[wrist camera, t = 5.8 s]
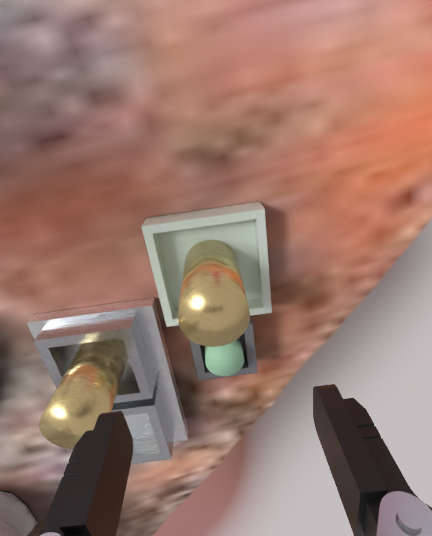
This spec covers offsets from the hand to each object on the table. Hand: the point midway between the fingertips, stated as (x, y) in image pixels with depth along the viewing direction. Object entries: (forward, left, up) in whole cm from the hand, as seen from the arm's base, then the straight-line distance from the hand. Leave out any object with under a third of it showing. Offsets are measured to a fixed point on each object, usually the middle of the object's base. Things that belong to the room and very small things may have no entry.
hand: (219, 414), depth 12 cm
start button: (+7, 0, -12) cm, 14 cm away
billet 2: (0, 0, -13) cm, 13 cm away
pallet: (+11, -10, -14) cm, 20 cm away
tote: (0, 0, -14) cm, 14 cm away
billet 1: (+7, -10, -13) cm, 17 cm away
